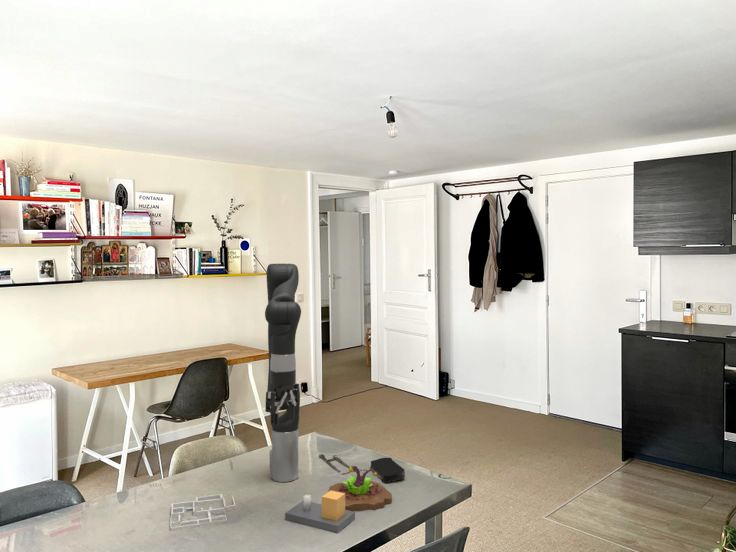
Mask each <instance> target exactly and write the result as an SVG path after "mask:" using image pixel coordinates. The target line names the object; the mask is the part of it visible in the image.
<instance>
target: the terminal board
mask: <svg viewBox="0 0 736 552" xmlns="http://www.w3.org/2000/svg"><path fill="white" fill-rule="evenodd" d="M284 513H285V514H284V520H286V521H289V522H293V523H297V524H301V525H305V526H309V527H312V528H316V529H321V530H325V531H328V532H333V533H336V534H339V533H340V532H341V531H342V530H344V529H345V528H346V527H347V526H349V525H350V524H351V523H352V522H353V521H354V520H355V519H356V511H349V510H345V514H344V515H343V516H342V517H341V518H339V519H338V520H337V521H336V520H332V519H328V518H323V517H322V503H317V502H313V501H312V495H311V494H304V495H303V500H302V501H301V502H299V503H298V504H296V505H294V506H293V507H291V508H290V509H289V510H287V511H285V512H284Z"/></svg>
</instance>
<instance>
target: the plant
mask: <svg viewBox="0 0 736 552" xmlns="http://www.w3.org/2000/svg"><path fill="white" fill-rule="evenodd" d="M353 470H354V472H352V471H353ZM366 470H367V471H364V472H363V473H362V475H361V474H360V473H361V472H360V471H361V470H360V469H359V468H358V466H357V465H352V466H350V468H348V472H350V473H356V476H355V475H351V476H350V478H347V481H342V482H338V483H335V484H332V485H330V486H329V488H328V490H327V492H326V493H328V492H329V491H330V490H331V491H336V492H340V493H345V510H349V511H353V512H365V511H376V510H378V509H384V508H385V505H391V504H392V503H393V494H392V493H391V492H390V491H389V490H388V489H386V487H385V486H383V485H381V483H378V482H375V481H373V480H371V479H372V477H371V476H368V477H366V476H367V475H368V473H369V472H372V475H373V476H374V477H377V476H378V475H377V473H376V471H374V470H371V469H366Z"/></svg>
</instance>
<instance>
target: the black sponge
mask: <svg viewBox="0 0 736 552" xmlns="http://www.w3.org/2000/svg"><path fill="white" fill-rule="evenodd" d="M369 467H370V469H369V470H374V471H376V473H377V475H376V476H377V477H378V478H379V479H381V482H383V483H385V484H387V483H391V481H392V482H394V481H400V480H403V479H405V478H406V471H405V469H404V468H403V467H402V466H401V465H399V464H398V463H397V462H395V460H393V459H392V458H391V457H380V458H377V459H373V460H371V461H370V466H369Z"/></svg>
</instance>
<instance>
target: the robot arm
mask: <svg viewBox="0 0 736 552" xmlns="http://www.w3.org/2000/svg"><path fill="white" fill-rule="evenodd" d="M299 274H300V273H299V268H298V266H297V265H296V264H294V263H269V264H268V265H267V268H266V287H267V288H266V289H267V305H266V308H265V311H264V317H265V321H266V322H267V325H268V326H267V346H268V347H267V348H268V350H267V351H268V376H267V390H266V393H265V412H266V413H269V414H270V425H271V449H270V450H269V478H270V479H272V480H273V481H275V482H280V483H288V482H293V481H296V480H297V479H298V478H299V424H300V405H301V403H300V402H301V392H300V384H299V383H296V381H297V375H296V372H297V368H296V366H297V360H296V334H297V330H298V325H299V323H300V320H301V316H302V308H301V305H300V304H299V303H298V302H297V301H295V299H296V297H295V296H296V292H297V290H298V286H299V278H300V275H299ZM279 411H280V412H281V411H285V412H284V413H282V415H281V416H279Z"/></svg>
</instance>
